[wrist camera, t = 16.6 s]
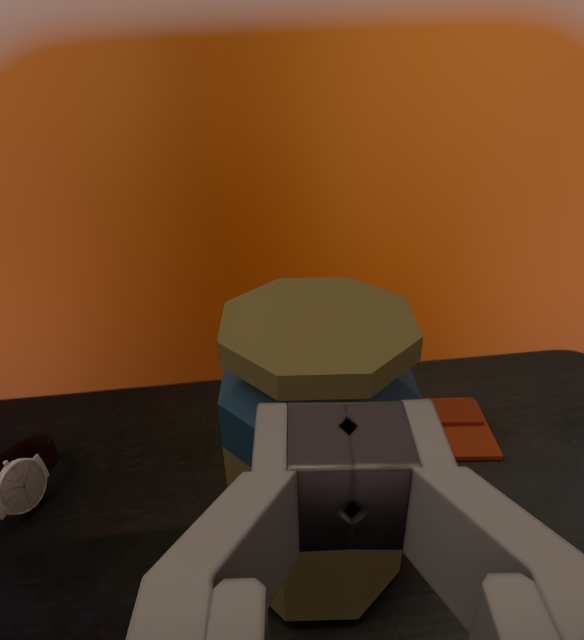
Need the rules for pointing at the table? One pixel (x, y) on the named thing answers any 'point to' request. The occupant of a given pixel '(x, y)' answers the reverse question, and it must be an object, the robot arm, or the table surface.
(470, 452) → the cloth
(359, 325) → the jar
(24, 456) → the watch
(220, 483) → the table surface
